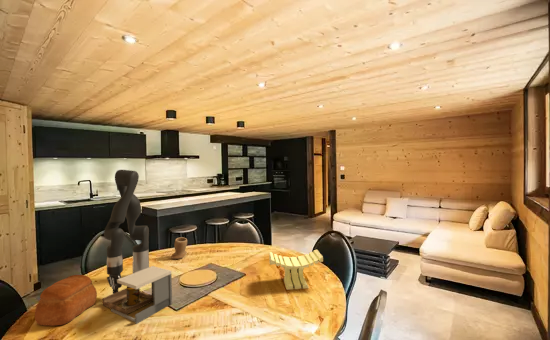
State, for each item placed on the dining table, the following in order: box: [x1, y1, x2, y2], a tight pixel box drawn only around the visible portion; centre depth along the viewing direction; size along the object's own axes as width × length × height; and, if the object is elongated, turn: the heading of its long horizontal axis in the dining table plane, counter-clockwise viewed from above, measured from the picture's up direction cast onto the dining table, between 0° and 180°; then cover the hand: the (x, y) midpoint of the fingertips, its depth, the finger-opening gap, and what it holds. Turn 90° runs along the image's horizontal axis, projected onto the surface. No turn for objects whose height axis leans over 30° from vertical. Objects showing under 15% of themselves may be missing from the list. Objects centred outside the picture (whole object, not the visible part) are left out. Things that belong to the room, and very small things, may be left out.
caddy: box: [102, 288, 154, 315], centre depth 137 cm, size 20×16×4 cm
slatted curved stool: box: [268, 249, 324, 290], centre depth 157 cm, size 30×16×18 cm, turn 96°
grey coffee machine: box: [110, 265, 173, 325], centre depth 132 cm, size 22×19×18 cm
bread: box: [34, 274, 98, 327], centre depth 128 cm, size 18×22×17 cm
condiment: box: [121, 286, 142, 309], centre depth 136 cm, size 7×8×12 cm
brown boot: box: [170, 236, 188, 260], centre depth 207 cm, size 15×12×15 cm
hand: (115, 295), depth 143 cm, fingers closed
